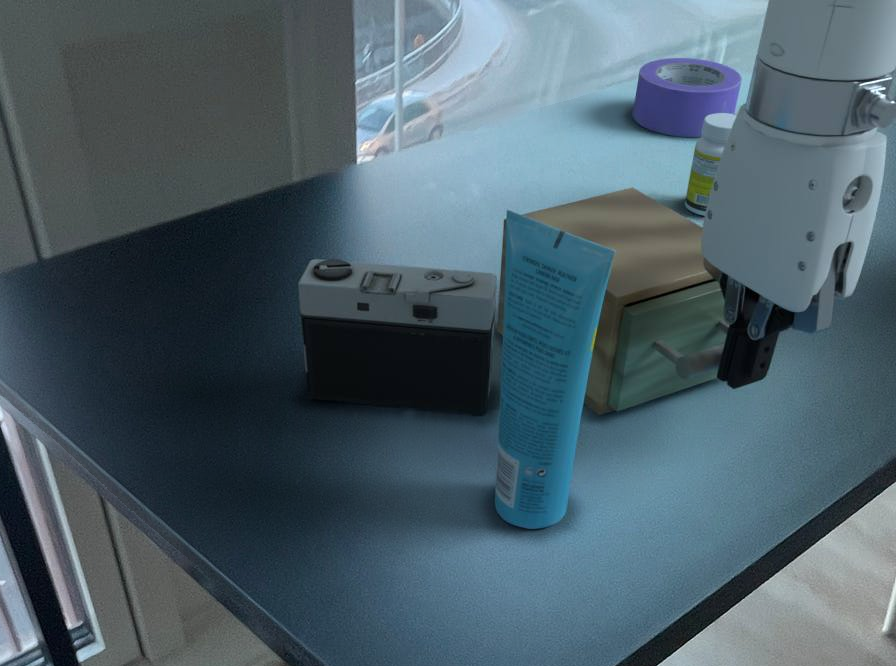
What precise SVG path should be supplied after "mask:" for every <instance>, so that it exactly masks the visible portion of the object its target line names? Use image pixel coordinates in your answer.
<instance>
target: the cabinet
mask: <svg viewBox="0 0 896 666" xmlns="http://www.w3.org/2000/svg"><path fill="white" fill-rule="evenodd" d="M521 215H523V216H526V217H529V218H531V219H534V220H537V221H539V222H542V223H544V224H546V225H549V226H551V227H554V228H557V229H559V230H561V231H563V232H567V233H569V234H572V235H574V236H577V237H580V238H583V239H585V240H588V241H591V242H594V243H596V244H599V245H602V246H604V247H607V248H610V249H613V250H615V251H616V253H615V256H614V258H613V262H612V267H611V271H610V275H609V279H608V283H607V286H606V290H605V295H604V299H603V303H602V308H601V313H600V317H599V322H598V327H597V332H596V337H595V342H594V347H593V352H592V358H591V363H590V368H589V374H588V379H587V385H586V391H585V396H584V402H583V405H586V407H588V408H589V409H590V410H591V411H593V412H594V413H595V414H596V415H598V416H601V415H605V414H609V413H610V412H614V411H616V410H615V409H614V408H612V407H611V406H610V405H609V404H608V401H609V394H610V388H611V382H612V376H613V369H614V363H615V357H616V351H617V344H618V338H619V332H620V326H621V319H622V313H623V308H624V305H626V304H629V303H633V302H636V301H639V300H643V299H646V298H650V297H653V296H656V295H660V294H663V293H667V292H670V291H674V290H677V289H680V288H684V287H687V286H691V285H694V284H697V283H701V282H704V281H708V280H711V279H714V278H713V277H712V276H711V275H710V274H709V273H708V272H707V271H706V270H705V268H704V265H703V261H704V258H705V257H704V255H703V253H702V251H701V237H702V229H703V226H700V225H699V224H697V223H695V222H694V221H692V220H690V219H688V218H687V217H685V216H683V215H681V214H680V213H679V212H676V211H675V210H673V209H671V208H669V207H668V206H666V205H664V204H663V203H661V202H659V201H657V200H656V199H653V198H652V197H650V196H649V195H647V194H645V193H643V192H641V191H640V190H638V189H636V188H634V187H629V188H625V189H620V190H617V191H613V192H607V193H604V194H600V195H596V196H592V197H588V198H584V199H580V200H576V201H571V202H566V203H564V204H559V205H555V206H551V207H547V208H543V209H539V210H536V211H531V212H527V213H522V214H521ZM501 246H502V247H501V258H500V259H501V260H500V262H501V263H500V273H499V274H500V275H499V291H498V307H497V321H496V332H497V333H498V334H499V335H500V336H502V337H503V324H504V296H505V255H506V218H504V219H503V229H502V245H501Z"/></svg>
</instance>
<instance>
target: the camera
mask: <svg viewBox="0 0 896 666" xmlns="http://www.w3.org/2000/svg"><path fill="white" fill-rule="evenodd" d="M497 285H498V276H497V275H496V273H495V274H494V273H492V272H481V271H468V270H457V269H443V268H433V267H432V268H431V267H421V266H419V267H418V266H406V265H405V266H404V265H394V264H393V265H392V264H381V263H369V262H367V263H366V262H356V261H346V260H342V259H335V258H330V259H318V258H314V259H311V260H310V261H309V263H308V264H307V266H306V268H305V270H304V271H303V274H302V275H301V278H300V279H299V280H298V283H297V286H298V287H297V288H298V298H299V299H298V300H299V310H300V312H299V313H300V320H301V331H302V339H303V344H302V345H303V358H304V369H305V374H306V375H305V376H306V385H307V396H308V397H307V398H308V399H310V400H321V401H333V402H339V403H342V402H343V403H352V404H361V405H362V404H363V405H370V406H371V405H373V406H382V407H383V406H384V407H391V408H393V407H394V408H402V409H403V408H404V409H414V410H422V411H423V410H425V411H434V412H445V413H455V414H466V415H477V416H485V415H486V412H487V407H488V404H489V399H490V393H491V384H492V370H493V354H494V353H493V352H494V336H495V320H496V301H497Z"/></svg>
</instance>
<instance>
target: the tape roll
mask: <svg viewBox="0 0 896 666" xmlns="http://www.w3.org/2000/svg"><path fill="white" fill-rule="evenodd" d="M742 79H743V77H742V76H741V74H740V73H739V72H738V71H737V70H735V69H734V68H733V67H730V66H728V65H725V64H723V63H719V62H715V61H712V60H706V59H699V58H693V57H691V58H690V57H670V58H661V59H656V60H652V61H649V62H647V63H645V64H643V65H642V66H641V67H640V68H639V72H638V78H637V84H636V90H635V96H634V103H633V109H632V118H633V120H634V121H635V122H636V123H637V124H638V125H640V126H641V127H643V128H645V129H647V130H649V131H653V132H655V133H659V134H663V135H667V136H673V137H683V138H700V137H702V127H703V123H704V119H705V117H706V116H708V115H710V114H715V113H729V114H734V115H735V112H736V107H737V104H738V98H739V95H740V90H741V85H742V81H743V80H742Z"/></svg>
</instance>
